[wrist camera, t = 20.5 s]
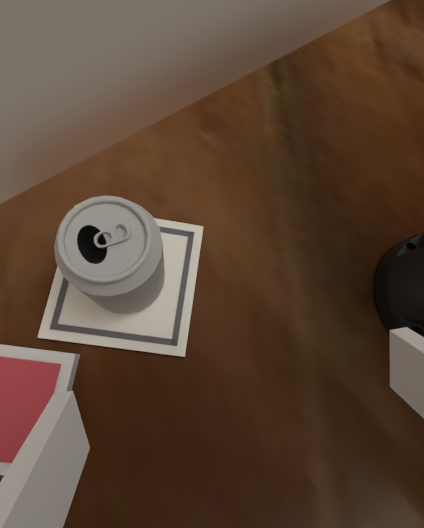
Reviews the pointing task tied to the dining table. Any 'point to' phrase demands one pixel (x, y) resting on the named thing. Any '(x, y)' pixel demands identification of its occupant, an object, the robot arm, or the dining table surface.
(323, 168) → the dining table surface
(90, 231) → the can
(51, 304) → the marked board
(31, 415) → the ink pad
